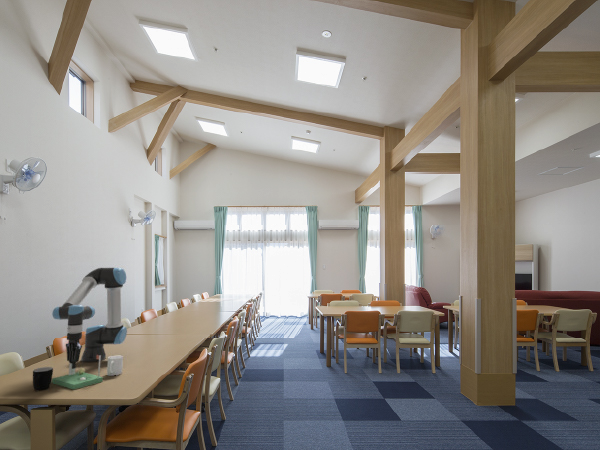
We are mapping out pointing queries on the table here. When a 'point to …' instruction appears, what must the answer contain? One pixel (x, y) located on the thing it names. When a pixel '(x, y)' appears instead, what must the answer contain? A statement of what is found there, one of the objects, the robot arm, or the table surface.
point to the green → (78, 379)
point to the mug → (42, 378)
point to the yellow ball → (81, 370)
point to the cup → (114, 365)
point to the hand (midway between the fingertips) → (72, 374)
